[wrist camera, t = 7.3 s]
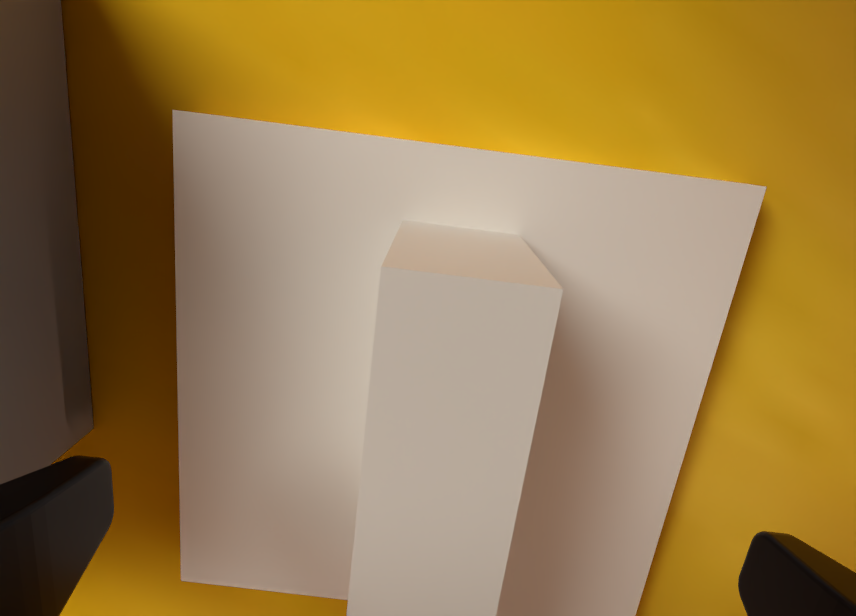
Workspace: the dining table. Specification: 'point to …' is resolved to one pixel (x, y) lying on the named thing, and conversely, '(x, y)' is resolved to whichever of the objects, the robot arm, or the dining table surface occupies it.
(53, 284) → the grey open box
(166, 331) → the dining table surface
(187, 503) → the lid
